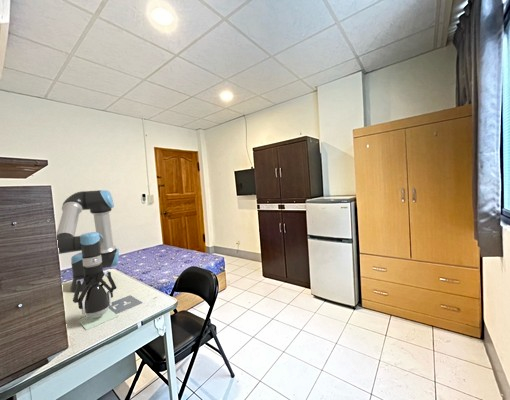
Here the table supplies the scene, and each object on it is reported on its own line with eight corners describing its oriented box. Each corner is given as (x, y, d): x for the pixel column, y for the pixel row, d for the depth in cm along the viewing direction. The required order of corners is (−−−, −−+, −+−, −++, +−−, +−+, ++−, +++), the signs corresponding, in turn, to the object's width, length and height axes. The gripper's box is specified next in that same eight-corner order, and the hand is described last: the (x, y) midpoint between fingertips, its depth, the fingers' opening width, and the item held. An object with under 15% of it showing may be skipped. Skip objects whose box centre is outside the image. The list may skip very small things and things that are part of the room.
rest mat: (78, 320, 110) (78, 320, 110) (108, 308, 120) (108, 308, 120) (86, 330, 102) (86, 329, 102) (118, 316, 112) (118, 315, 112)
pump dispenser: (115, 310, 114) (112, 280, 113) (95, 322, 105) (91, 289, 104) (101, 307, 118) (98, 279, 117) (79, 319, 108) (76, 287, 107)
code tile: (99, 307, 122) (98, 307, 122) (130, 295, 135) (130, 295, 135) (109, 316, 112) (109, 316, 112) (142, 302, 125) (142, 302, 125)
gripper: (64, 274, 99) (70, 323, 100) (121, 259, 116) (125, 301, 117) (60, 270, 103) (65, 318, 105) (115, 257, 121) (119, 297, 122)
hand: (97, 309), depth 111 cm, fingers closed on pump dispenser, 10 cm apart
